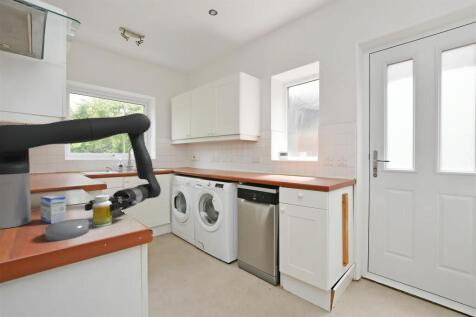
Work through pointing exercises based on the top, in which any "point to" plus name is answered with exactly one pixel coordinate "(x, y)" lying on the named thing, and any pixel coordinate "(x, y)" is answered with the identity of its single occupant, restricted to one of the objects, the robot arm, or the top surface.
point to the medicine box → (53, 209)
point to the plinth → (66, 229)
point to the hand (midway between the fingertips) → (98, 207)
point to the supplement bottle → (102, 211)
